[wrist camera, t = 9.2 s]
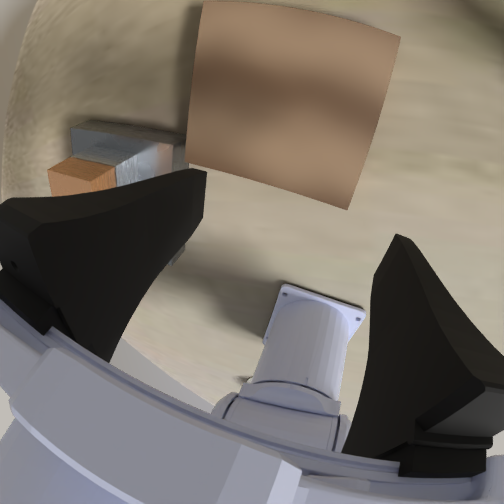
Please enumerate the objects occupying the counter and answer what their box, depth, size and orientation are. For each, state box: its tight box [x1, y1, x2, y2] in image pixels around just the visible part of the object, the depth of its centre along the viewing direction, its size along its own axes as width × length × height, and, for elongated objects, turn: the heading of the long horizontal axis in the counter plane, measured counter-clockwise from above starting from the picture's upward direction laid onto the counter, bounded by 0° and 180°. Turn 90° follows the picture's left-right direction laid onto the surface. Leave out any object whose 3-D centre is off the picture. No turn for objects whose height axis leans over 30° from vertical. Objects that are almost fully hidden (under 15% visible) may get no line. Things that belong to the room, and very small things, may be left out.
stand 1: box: [70, 120, 189, 266], centre depth 24 cm, size 11×11×2 cm
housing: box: [47, 146, 138, 197], centre depth 21 cm, size 8×5×5 cm, turn 171°
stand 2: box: [185, 1, 401, 210], centre depth 16 cm, size 11×11×2 cm
